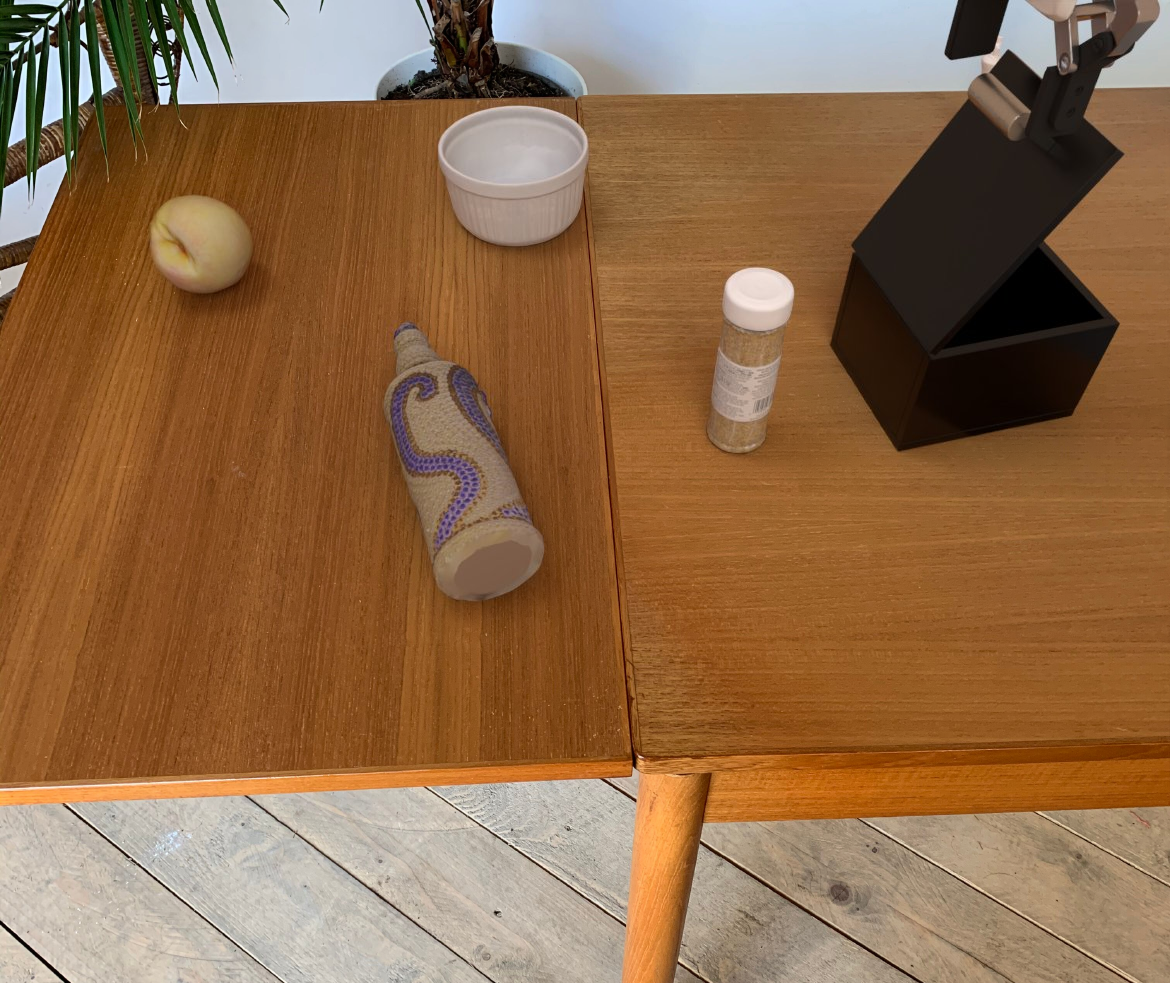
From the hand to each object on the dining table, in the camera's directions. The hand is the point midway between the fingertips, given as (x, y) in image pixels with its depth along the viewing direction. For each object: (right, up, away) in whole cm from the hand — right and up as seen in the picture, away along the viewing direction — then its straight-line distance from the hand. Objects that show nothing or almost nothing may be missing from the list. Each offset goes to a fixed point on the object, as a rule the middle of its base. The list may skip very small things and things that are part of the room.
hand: (1007, 93), depth 61 cm
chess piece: (+13, +15, +41) cm, 45 cm away
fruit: (-57, -4, +26) cm, 63 cm away
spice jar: (-14, -18, +15) cm, 28 cm away
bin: (+3, -13, +19) cm, 23 cm away
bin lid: (0, -5, +6) cm, 8 cm away
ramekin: (-32, +5, +33) cm, 46 cm away
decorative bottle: (-34, -22, +13) cm, 43 cm away
